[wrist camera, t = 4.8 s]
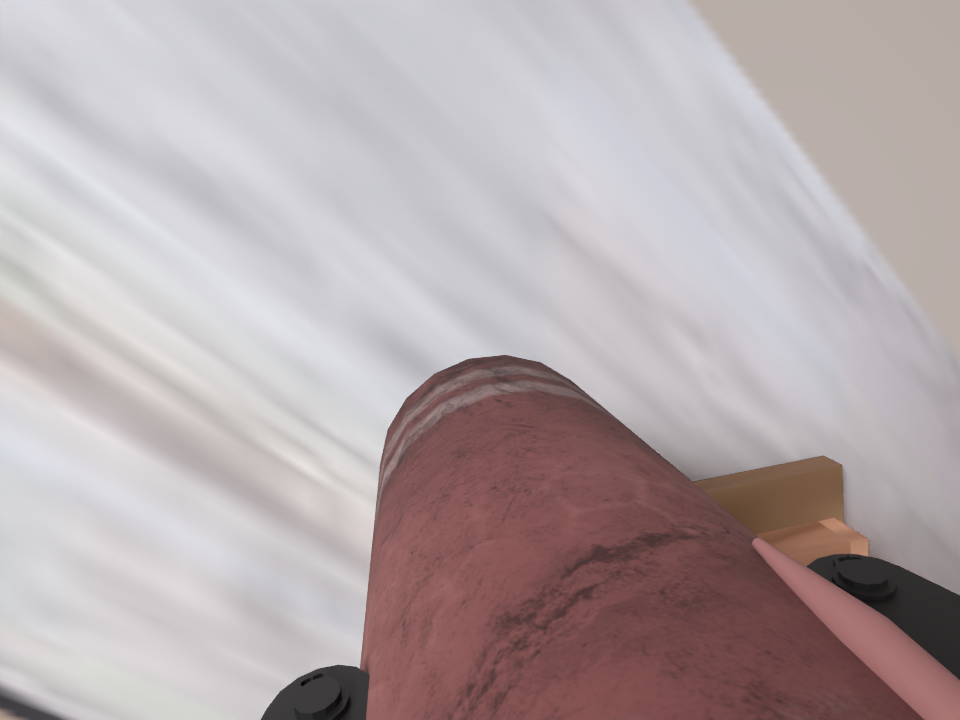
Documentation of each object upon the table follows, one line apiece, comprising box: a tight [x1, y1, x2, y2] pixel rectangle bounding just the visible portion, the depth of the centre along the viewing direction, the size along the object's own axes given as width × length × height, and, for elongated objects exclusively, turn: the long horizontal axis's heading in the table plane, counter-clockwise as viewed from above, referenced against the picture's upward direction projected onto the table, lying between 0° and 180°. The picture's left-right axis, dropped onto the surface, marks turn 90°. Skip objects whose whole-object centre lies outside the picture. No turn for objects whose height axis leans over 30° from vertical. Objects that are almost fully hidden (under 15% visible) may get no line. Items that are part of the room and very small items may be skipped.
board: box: [693, 456, 868, 566], centre depth 27 cm, size 14×20×3 cm
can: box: [360, 355, 960, 720], centre depth 10 cm, size 6×6×14 cm
